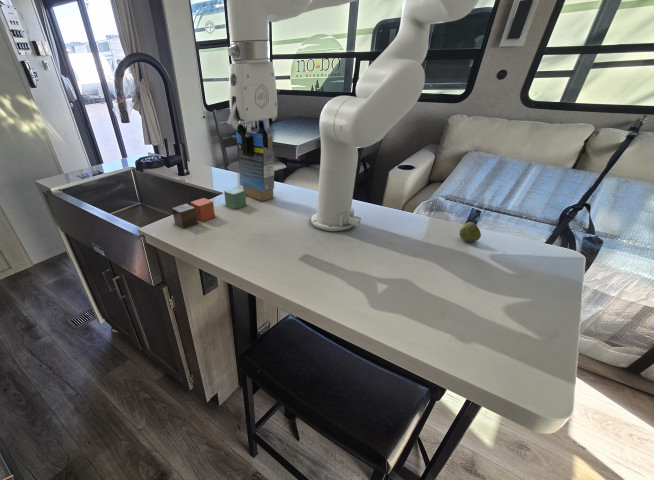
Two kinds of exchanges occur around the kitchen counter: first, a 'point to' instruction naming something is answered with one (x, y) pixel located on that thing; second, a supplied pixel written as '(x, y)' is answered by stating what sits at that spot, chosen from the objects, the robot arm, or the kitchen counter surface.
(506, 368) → the kitchen counter surface
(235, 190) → the block
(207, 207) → the block
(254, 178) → the tape cartridge
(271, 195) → the decorative block
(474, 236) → the lime
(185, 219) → the block
